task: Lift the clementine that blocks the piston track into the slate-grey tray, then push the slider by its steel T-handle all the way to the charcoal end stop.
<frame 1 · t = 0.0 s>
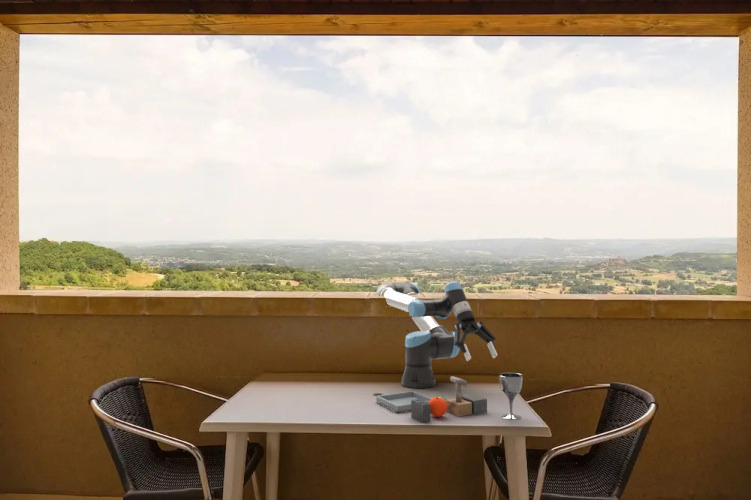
hand: (482, 358, 225), 15 cm above the table, tool tilted 35°, fingers open, 13 cm apart
slider: (458, 395, 200), point 6 cm above the table, slide at 0.0 cm
tray: (405, 404, 212), on the table
wine glass: (511, 417, 195), on the table
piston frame: (446, 414, 197), on the table
clementine: (438, 416, 196), on the table
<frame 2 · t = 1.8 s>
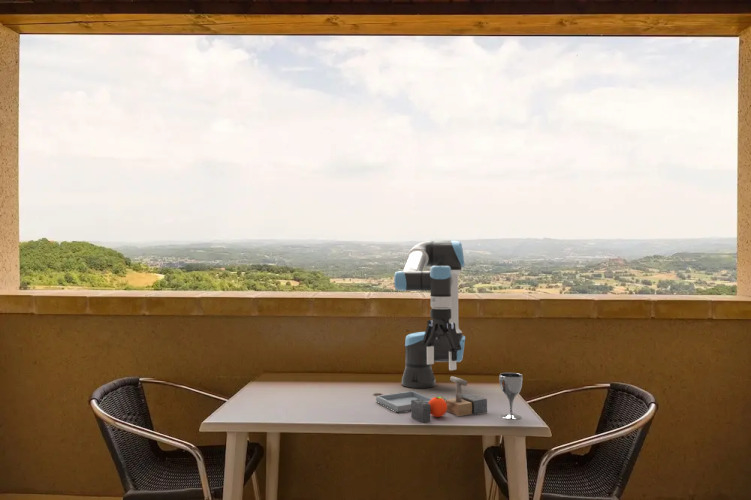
hand: (441, 367, 197), 18 cm above the table, tool pointing down, fingers open, 13 cm apart
nothing on the table moved.
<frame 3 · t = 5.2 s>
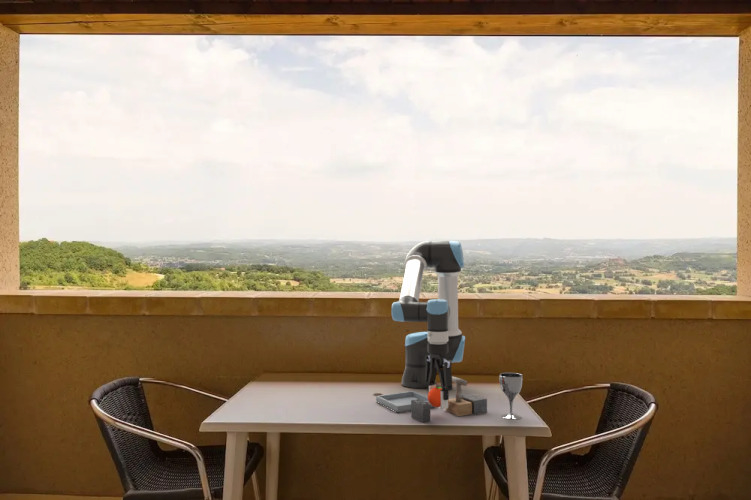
hand: (438, 405, 196), 4 cm above the table, tool pointing down, fingers closed on clementine, 7 cm apart
clementine: (438, 406, 197), point 3 cm above the table, touching gripper
everything else where it was.
when the fingers open (2 cm above the table, at t = 9.8 s): clementine drops 1 cm, resting on tray.
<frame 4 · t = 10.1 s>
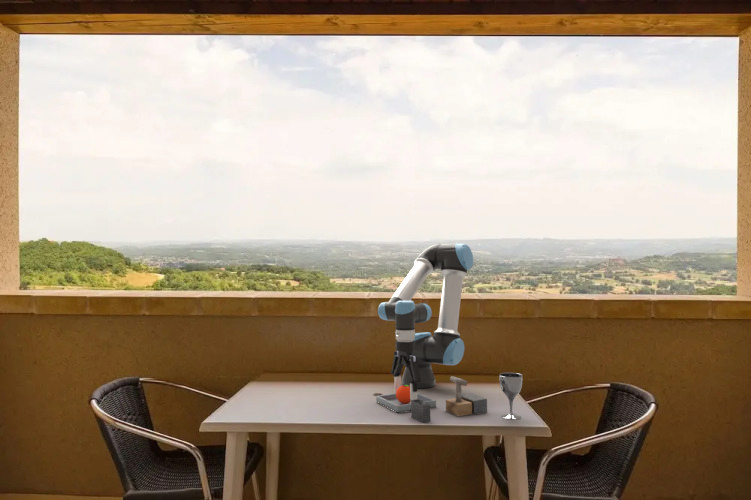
hand: (405, 396, 212), 3 cm above the table, tool pointing down, fingers open, 11 cm apart
clementine: (405, 403, 212), resting on tray
everything else where it was.
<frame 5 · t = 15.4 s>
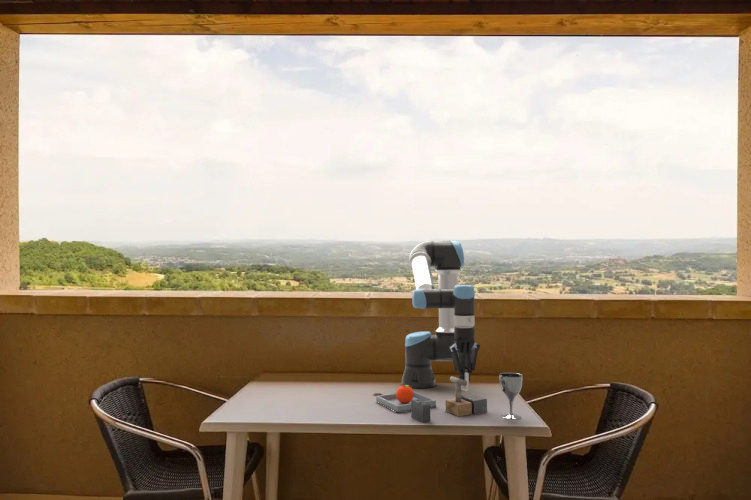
hand: (465, 390, 201), 8 cm above the table, tool pointing down, fingers closed
slider: (458, 395, 200), point 6 cm above the table, slide at 0.1 cm, touching gripper
everything else where it was.
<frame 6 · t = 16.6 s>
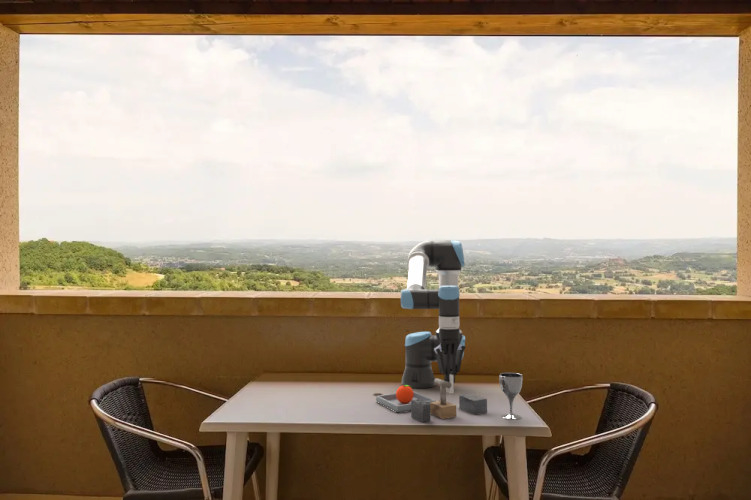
hand: (449, 392, 198), 8 cm above the table, tool pointing down, fingers closed
slider: (443, 397, 197), point 6 cm above the table, slide at 7.0 cm, touching gripper
everything else where it was.
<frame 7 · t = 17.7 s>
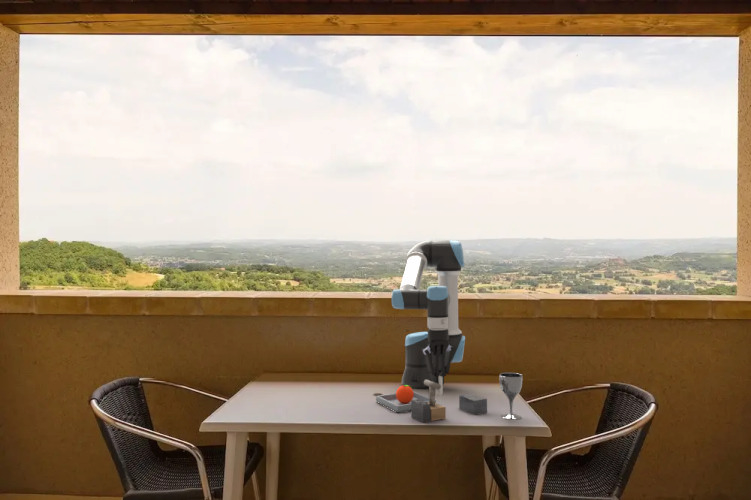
hand: (439, 394, 196), 8 cm above the table, tool pointing down, fingers closed
slider: (432, 399, 195), point 6 cm above the table, slide at 11.6 cm, touching gripper
everything else where it was.
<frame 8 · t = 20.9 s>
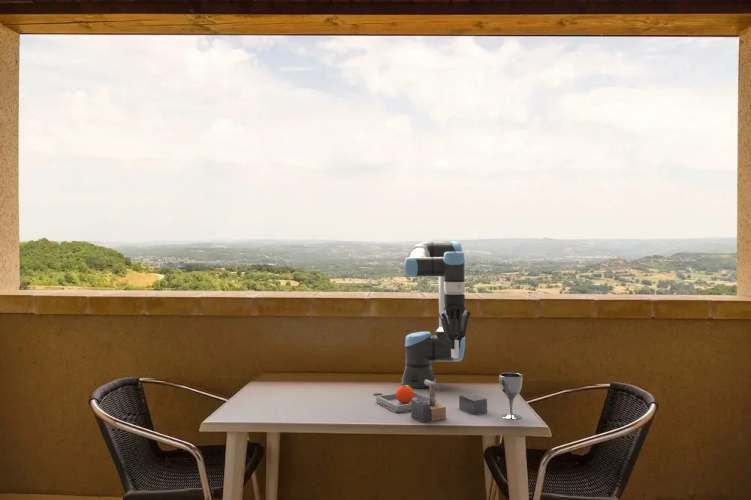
hand: (455, 357, 200), 20 cm above the table, tool pointing down, fingers closed
slider: (432, 399, 195), point 6 cm above the table, slide at 11.5 cm
everything else where it was.
at the end: clementine inside the target area on the tray (0.0 cm from its centre), point 0.4 cm above the tray's base; slider slide at 11.5 cm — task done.
